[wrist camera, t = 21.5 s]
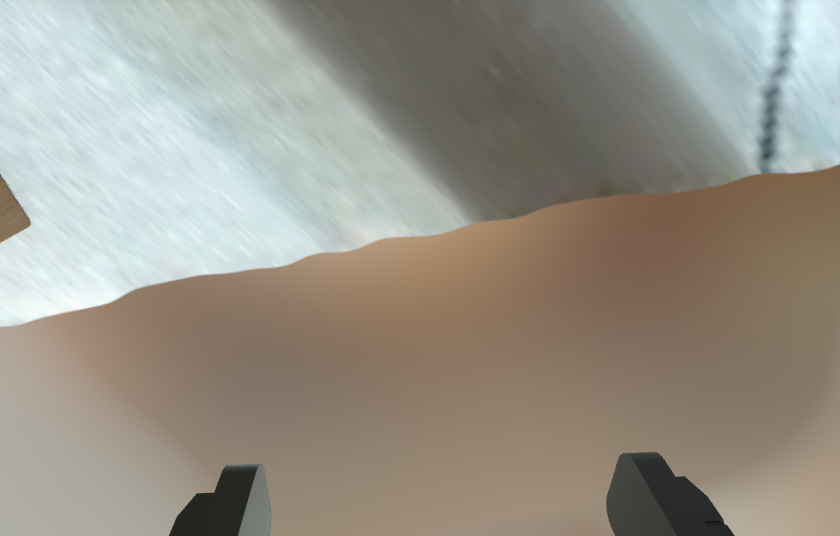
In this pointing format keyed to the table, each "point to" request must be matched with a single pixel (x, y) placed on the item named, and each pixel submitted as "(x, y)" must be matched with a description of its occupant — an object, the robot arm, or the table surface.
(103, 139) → the table surface
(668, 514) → the robot arm
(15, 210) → the wooden block
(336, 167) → the table surface
